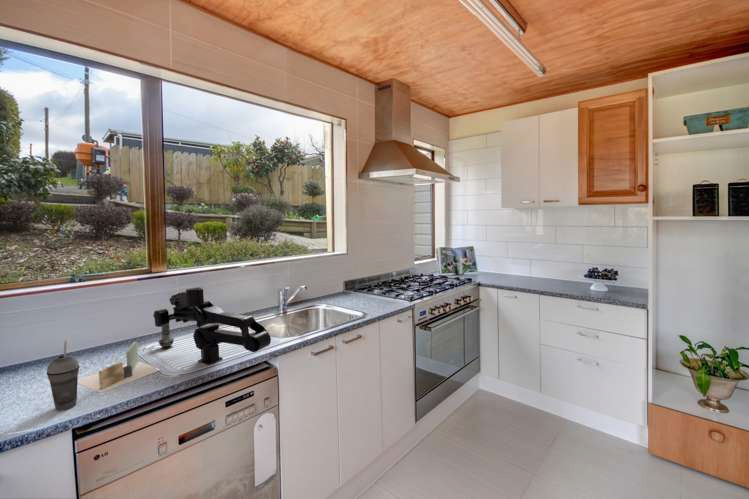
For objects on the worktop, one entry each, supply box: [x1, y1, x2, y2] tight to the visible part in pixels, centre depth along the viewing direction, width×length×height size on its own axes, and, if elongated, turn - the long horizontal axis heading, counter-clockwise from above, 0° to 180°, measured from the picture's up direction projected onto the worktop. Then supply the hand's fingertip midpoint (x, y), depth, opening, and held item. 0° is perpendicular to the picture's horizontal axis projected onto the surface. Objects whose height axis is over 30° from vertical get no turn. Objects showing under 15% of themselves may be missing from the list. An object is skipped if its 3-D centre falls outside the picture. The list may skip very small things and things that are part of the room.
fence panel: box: [125, 340, 139, 371], centre depth 131 cm, size 11×1×8 cm, turn 22°
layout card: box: [77, 360, 159, 394], centre depth 126 cm, size 17×20×1 cm
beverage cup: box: [45, 340, 80, 412], centre depth 104 cm, size 7×7×20 cm
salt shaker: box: [158, 323, 175, 351], centre depth 152 cm, size 6×6×12 cm
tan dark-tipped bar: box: [98, 361, 132, 389], centre depth 120 cm, size 11×2×6 cm, turn 167°
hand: (164, 312), depth 147 cm, fingers open, 9 cm apart
